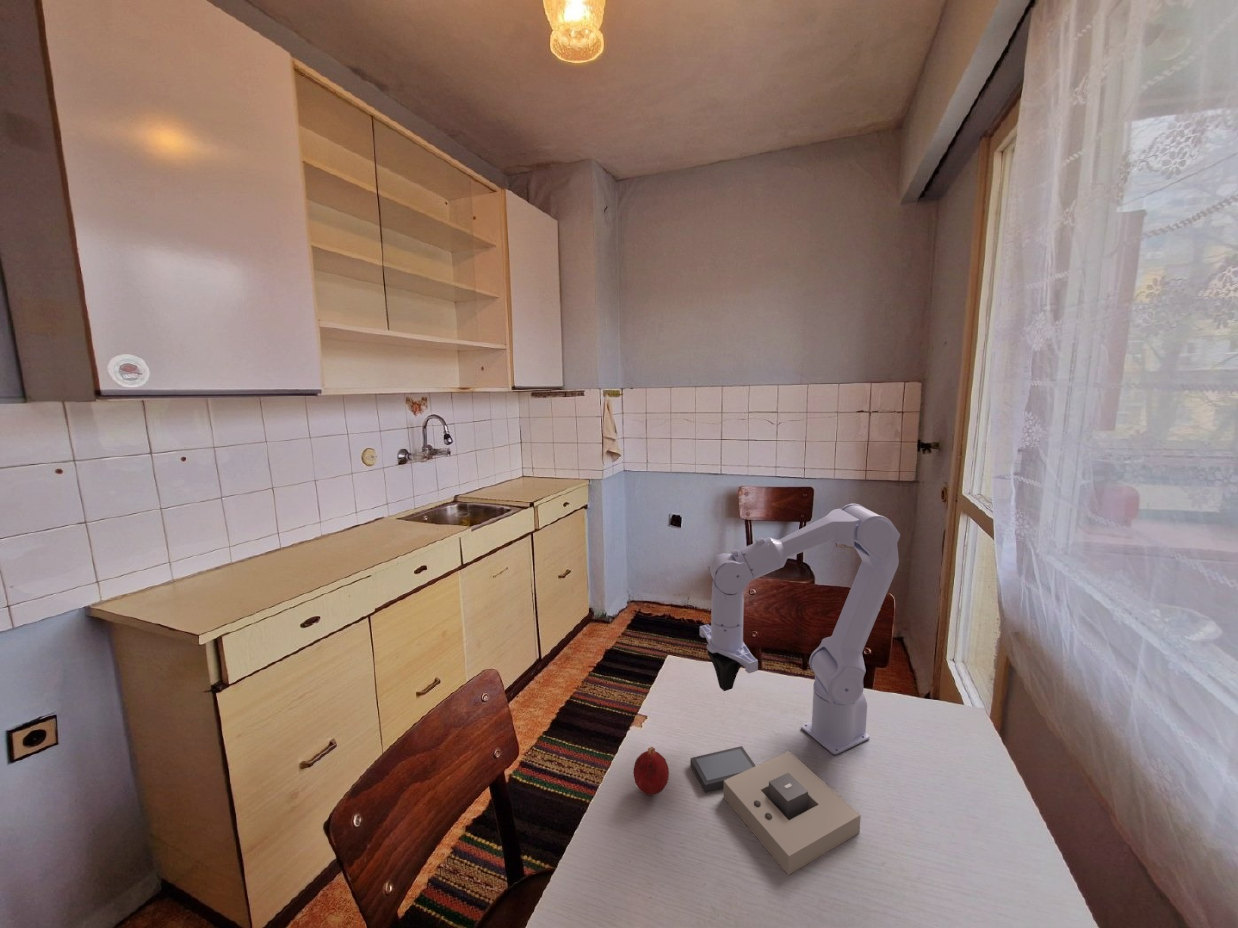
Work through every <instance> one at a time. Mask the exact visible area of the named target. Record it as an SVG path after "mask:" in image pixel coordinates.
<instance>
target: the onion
mask: <svg viewBox="0 0 1238 928" xmlns="http://www.w3.org/2000/svg"><path fill="white" fill-rule="evenodd" d="M669 770H670V769H669V766H668V763H667V760H666V759H665V757H664V756H663V755H662V754H661V753H659V752H658V751H656V748H654V747H653V746H650V747H648V749H647V750H646V751H644V752H642V753H641V754H640V755H638V757H637V758H636V760H635V763H634V766H633V773H632V774H633V779H634V783H635V785H636V786H637V788H638V789H639V790H640V791H641V792H642V793H644V794H646V795H649V796H654V795H658V794H659V793H662V791H663V790H664V789H665V788H666V786H667V784H668V782H669V775H670V771H669Z"/></svg>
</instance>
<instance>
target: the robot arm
mask: <svg viewBox="0 0 1238 928" xmlns="http://www.w3.org/2000/svg"><path fill="white" fill-rule="evenodd" d="M900 538H901V533H900V532H899V530H898V529H897V528H896V526H895V525H894V523H893V522H892V521H891V520H890V519H889V518H887V517H886V516H883V515H880V514H878V513H876V512H874V511H872V510H870V509H868V508H866V507H864V506H863V505H862V504H858V503H848V504H845V505H844V506H842V507H841V508H836V509H832V510H830V512H829V513H827V514H826V515H825V516H823V517H822V518H819V519H817V520H816V521H813V522H811V523H809V524H807V525H806V526H804V527H803V526H802V528H800V529H798V530H795V531H794V532H792V533H790V534H788V535H785V536H784V537H782V538H780V539H775V538H773V537H770V536H768V537H764V538H763V537H762V536H759V537H758V538H755V542H754V543H752V544H748V545H747V546H745V547H742V548H740V549H736V548H735V549H732V550H730V552H731V553H730V552H729V553H726V552H723V553H718V554H717V555H716V556H714V557H713V559H712V560H711V562H710V565H709V566H708V572H709V575H710V577H712V579H713V580H712V581H711V582H712V585H711V597H710V598H711V603H710V604H711V608H710V609H711V614H710V617H711V618H710V622H711V623H710V625H709V623H707V624H704V625H700V626H699V637H701V638H706V642H707V643H708V644H706V649H707V655H708V658H709V659H710V661H711V663H712V665H713V668H714V670H715V671H714V672H715V673H716V674H715V675H716V677H717V683H718V685H719V688H720V689H721V690H722V691H723V692H727V691H729V690H732V689H733V687H734V684H735V681H736V677H737V675H738V672H739V671H740V669H741V667H742V666H743V668H744V670H745V672H746V673H748V674H752V673H755V672H758V669H759V662H758V661H759V660H758V659H757V658H756V657H755V656H754V655H753V654H752V653H751V651H750V649H749V648H748V646H747V645H746V644H745V642H744V600H745V599H744V590H745V589H746V588H747V586H748V585H749V583H750V582H752V581H754V580H757V579H758V578H761V577H763V576H765V575H767V574H769V573H772V572H775V571H777V570H779V569H781V568H784V567H785V565H786V562H787V560H788V558H790V557H793V556H795V555H798V554H801V553H804V552H806V551H809V550H812V549H815V548H818V547H820V546H823V545H826V544H829V543H834V544H840V545H844V546H848V547H852V548H854V549H855V550H856V552H857V554H858V555H859V557H860V559H861V563H860V565H859V567H858V570H857V572H856V574H855V578H854V580H853V582H852V585H851V587H850V589H849V593H848V595H847V598H846V600H845V602H844V605H843V607H842V609H841V613H840V615H839V617H838V620H837V622H836V624H835V626H834V629H833V632H832V635H831V636H828V637H823V639H821V643H819V646H817V648H816V649H815V650H813V651H812V653H811V655H810V657H809V660H808V661H809V662H808V663H809V668H810V669H811V671H812V673H814V680H813V681H814V682H813V690H812V711H811V713H812V714H811V715H812V716H811V721H808V722H806V723H804V724H801V727H800V728H801V729H802V730H803V732H805V733H806V734H808V735H809V736H810V737H811V738H813V739H814V740H815V741H816V742H818V743H819V744H820V745H821V746H823V747H824V748H825V749H826V750H828V751H829V752H830V753H831V754H833V755H835V756H836V755H838V754H840V753H842V752H844V751H846V750H848V749H850V748H852V747H856V746H857V745H858V744H861V743H863V742H865V741H867V740H869V739H870V736H871V735H870V734H869V733H867V732H866V730H867V729H866V728H867V716H868V715H867V713H868V702H867V699H866V696H865V695H864V690H865V689H864V677H865V675H866V671H867V670H866V666H865V661H864V657H863V651H864V649H865V646H866V644H867V642H868V640H869V636H870V635H871V632H872V629H873V627H874V626H875V622H876V620H877V617H878V616H879V613H880V610H881V608H882V605H883V603H884V601H885V598H886V597H887V596H886V595H887V594H888V591H889V589H890V586H891V583H892V581H893V580H894V577H895V574H896V573H897V570H898V568H899V564H900V560H899V559H900V558H899V549H898V542H899V540H900Z"/></svg>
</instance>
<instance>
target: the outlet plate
mask: <svg viewBox="0 0 1238 928" xmlns="http://www.w3.org/2000/svg"><path fill="white" fill-rule="evenodd" d="M786 773H789V774H790V775H791V776H793V777H794V778H795V779H796V780H797V781H798V782H799V783H800V784H801V785H802V786H803V787H804V788H805V789H806V790H807V791H808V804H807V811H806V812H804V813H802V814H800V815H798V816H796V817H795V818H793V819H791V820H788V819H787V818H786V817H785V816H784V815H783V814H782V812H781V811H780V810H779V809H778V808H777V807H776V806H775V805H774V804H773V803H772V802H771V801H770V800H769V799H768V794H769V781H771V780H773V779H776V778H778V777H780V776H782V775H784V774H786ZM722 796H723V798H724V799H725V801H726V802H727V803H728V804H729V806H730V807H731V808H732V809H733V810H734V812H735V813H736V814H737V815H738V817H739V818H740V819H741V820H742V821H743V822H744V824H745V826H747V827H748V829H749V830H750V831H751V832H752V834H754V835H755V836H754V837H756V838H757V840H759V842H760V843H761V844H762V846H763V847H764V848H765V849H766V850H767V851H768V852H769V854H770V855H771V856H772V857H773V859H774V860H775V861H776V862H777V864H778V865H779V866H780V867H781V869H782V870H783V871H784V872H785V873H786V875H787V876H790V875H791V874H793V873H795V872H797V871H798V870H800V869H801V868H803V867H805V866H807V865H808V864H810V863H811V862H813V861H814V860H816V859H818V858H820V857H821V856H823V855H825V854H827V853H828V852H830V851H831V850H833V849H834V848H835V849H836V847H838V846H840V845H841V844H843V843H844V842H847V841H848V840H849V839H851V838H853V837H855V836H856V835H858V834H859V833H860V829H861V828H860V827H861V814H860V813H859V812H858V811H857V810H856V809H855V808H854V807H852V806H851V805H850V804H849V803H848V802H847V801H846V800H844V798H842V797H841V796H840V795H839V794H838V793H836V792H835V790H833V788H832V787H830V786H829V785H827V784H826V782H824V781H823V780H822V779H821V778H820V777H819V776H817V774H815V772H814V771H812V770H811V769H810V768H809V767H807V765H805V764H804V763H803V762H802V761H800V759H799V758H797V757H796V756H795V755H794V753H793V754H792V752H790V751H786V752H783V753H782V754H780V755H777V756H775V757H772V758H771V759H769V760H766V761H764V762H762V763H760V764H758V765H756V766H755V767H753V768H751V769H748V770H746V771H744V772H742V773H739V774H737V775H735V776H733V777H731V778H728V779H726V780H724V789H723V795H722Z"/></svg>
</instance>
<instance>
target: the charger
mask: <svg viewBox="0 0 1238 928" xmlns="http://www.w3.org/2000/svg"><path fill="white" fill-rule="evenodd" d="M768 799H769V800H770V801H771V802H772V803H773V804H774V805H775V806H776V807H777V808H778V809H779V810H780V811H781V812H782V814H783V815H784V816H785V817H786V818H787V819H788V820H791V819H793V818H795V817H796V816H798V815H800V814H802V813H804V812H806V811H807V804H808V791H807V790H806V789H805V788H804V787H803V786H802V785H801V784H800V783H799V782H798V781H797V780H796V779H795V778H794V777H793V776H791V775H790V774H789V773H786V774H784V775H782V776H780V777H778V778H776V779H773V780H771V781H769V794H768Z"/></svg>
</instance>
